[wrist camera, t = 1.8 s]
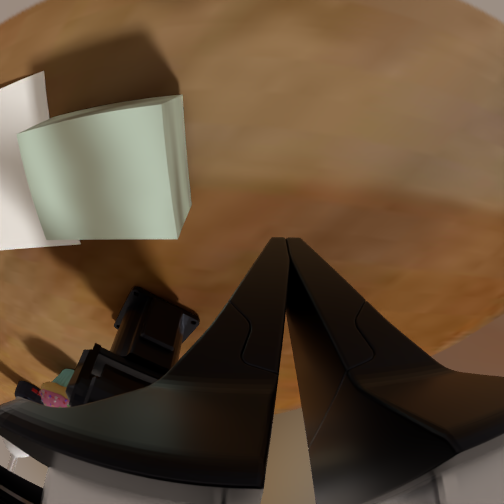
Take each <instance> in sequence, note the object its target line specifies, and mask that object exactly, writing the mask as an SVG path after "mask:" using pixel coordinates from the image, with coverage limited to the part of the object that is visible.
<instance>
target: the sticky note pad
mask: <svg viewBox="0 0 504 504" xmlns="http://www.w3.org/2000/svg"><path fill="white" fill-rule="evenodd" d="M17 139H18V144H19V149H20V153H21V158H22V162H23V166H24V170H25V174H26V178H27V182H28V185H29V189H30V192H31V196H32V199H33V202H34V205H35V209H36V212H37V215H38V218H39V221H40V224H41V226H42V229H43V232H44V235H45V238H46V240H93V239H178V237H179V234H180V232H181V229H182V227H183V224H184V222H185V219H186V217H187V215H188V212H189V210H190V207H191V205H192V203H191V194H190V193H191V191H190V184H189V174H188V163H187V151H186V139H185V125H184V107H183V95H172V96H163V97H154V98H146V99H139V100H132V101H126V102H120V103H114V104H109V105H103V106H98V107H93V108H89V109H84V110H80V111H75V112H71V113H67V114H63V115H59V116H55V117H52V118H50V119H48V120H46V121H43V122H41V123H39V124H37V125H35V126H32V127H30V128H28V129H26V130H24V131H22V132H20V133H18V134H17Z"/></svg>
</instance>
